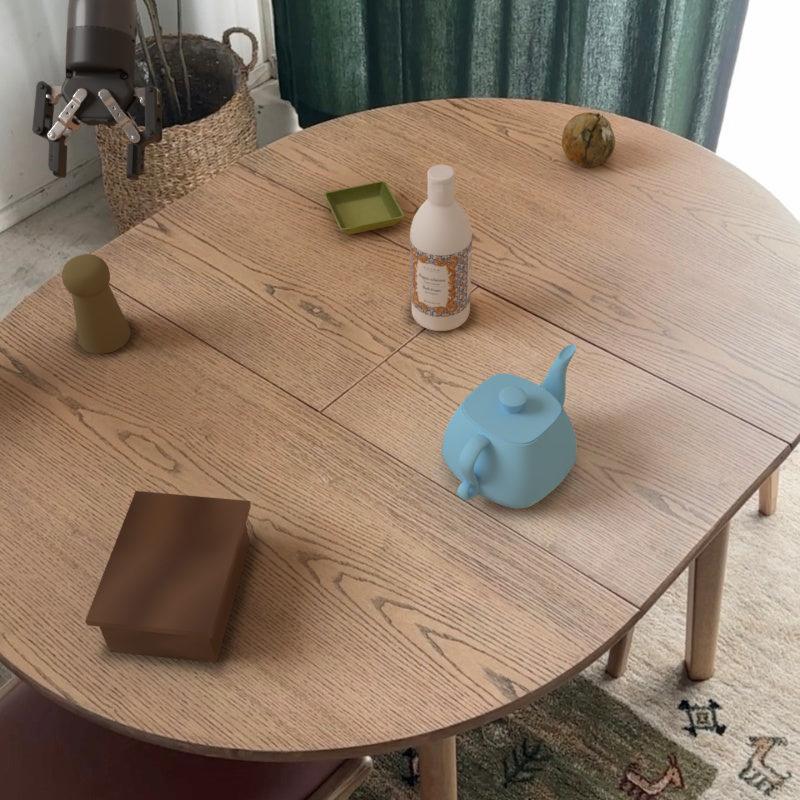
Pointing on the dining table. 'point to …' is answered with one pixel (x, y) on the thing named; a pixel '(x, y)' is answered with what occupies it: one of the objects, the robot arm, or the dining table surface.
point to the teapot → (512, 438)
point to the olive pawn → (95, 305)
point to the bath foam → (440, 256)
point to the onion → (588, 140)
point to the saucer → (364, 207)
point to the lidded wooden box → (172, 576)
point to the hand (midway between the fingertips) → (95, 177)
